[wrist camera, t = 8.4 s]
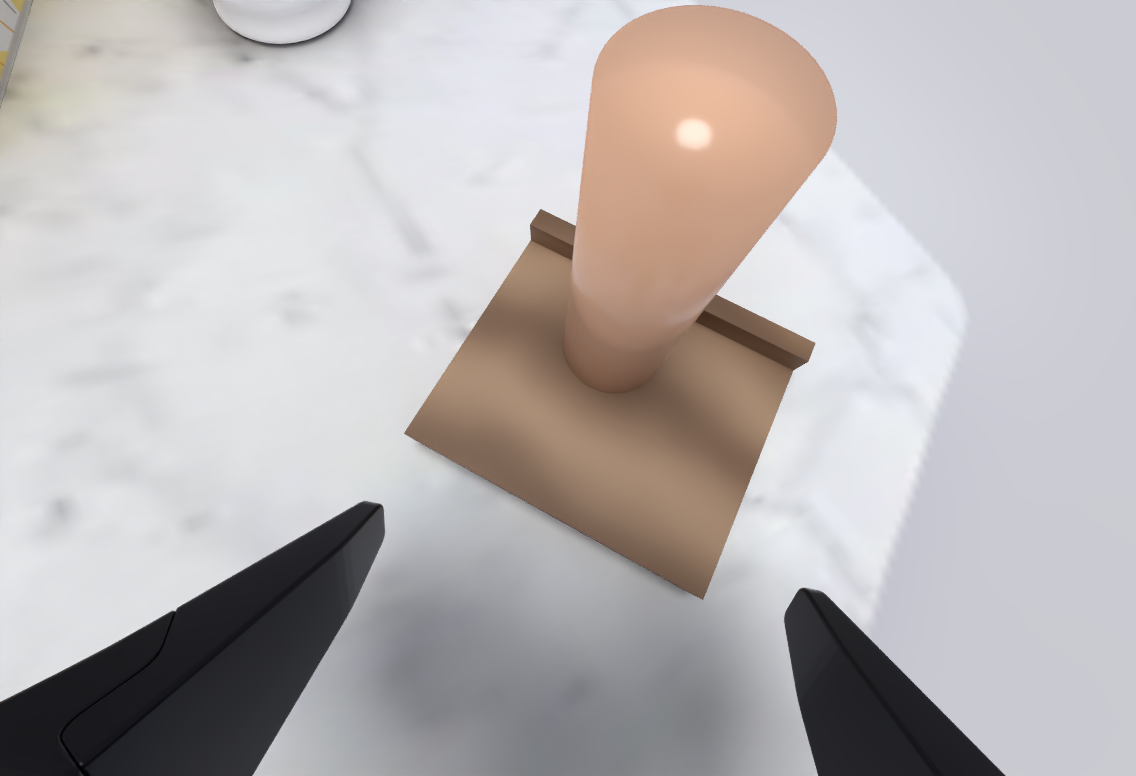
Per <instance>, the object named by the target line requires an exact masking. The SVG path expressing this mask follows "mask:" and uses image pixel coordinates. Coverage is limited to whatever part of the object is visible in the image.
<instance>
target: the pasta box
mask: <svg viewBox="0 0 1136 776" xmlns="http://www.w3.org/2000/svg"><path fill="white" fill-rule="evenodd" d="M32 1H33V0H0V107H1V104H2V100H3V97H4V94H5V90H6V87H7V84H8V80H9V77H10V74H11V71H12V67H13V64H14V61H15V57H16V54H17V51H18V48H19V44H20V41H21V38H22V34H23V31H24V28H25V24H26V21H27V18H28V15H29V11H30V8H31V5H32Z"/></svg>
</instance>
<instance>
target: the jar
mask: <svg viewBox="0 0 1136 776" xmlns="http://www.w3.org/2000/svg"><path fill="white" fill-rule="evenodd" d="M350 2H351V0H213V3H214V6H215V8H216V11H217V13H218V14H219V16H220V17H221V19H222V20H223V21H224V22H225V23H226V24H227V25H228V26H229V27H230V28H231V29H232V30H234V31H235V32H237V33H239V34H240V35H242V36H244V37H247V38H249V39H252V40H255V41H260V42H265V43H275V44H286V43H295V42H300V41H304V40H308V39H311V38H313V37H316V36H318V35H320V34H322V33H324V32H326V31H327V30H329V29H330V28H332V27H333V26H334V25H335V24H336V23H338V22H339V21H340V20H341V18H342V17H343V16H344V14H345V13H346V11H347V10H348V7H349V5H350Z"/></svg>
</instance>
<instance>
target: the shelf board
mask: <svg viewBox="0 0 1136 776" xmlns="http://www.w3.org/2000/svg"><path fill="white" fill-rule="evenodd" d="M530 230H531V241H530V243H529V244H528V246H527V247H526V249H525V250H524V252H523V253H522V255H521V256H520V258H519V259H518V261H517V262H516V264H515V265H514V267H513V268H512V270H511V271H510V273H509V274H508V276H507V278H506V279H505V281H504V282H503V284H502V285H501V287H500V288H499V290H498V291H497V293H496V294H495V296H494V297H493V299H492V300H491V302H490V303H489V305H488V306H487V308H486V309H485V311H484V313H483V314H482V316H481V317H480V319H479V320H478V322H477V323H476V325H475V326H474V328H473V329H472V331H471V332H470V334H469V335H468V337H467V338H466V340H465V341H464V343H463V344H462V346H461V347H460V349H459V351H458V352H457V354H456V355H455V357H454V358H453V360H452V361H451V363H450V364H449V366H448V367H447V369H446V370H445V372H444V373H443V375H442V376H441V378H440V379H439V381H438V382H437V384H436V386H435V387H434V389H433V390H432V392H431V393H430V395H429V396H428V398H427V399H426V401H425V402H424V404H423V405H422V407H421V408H420V410H419V411H418V413H417V414H416V416H415V417H414V419H413V421H412V422H411V424H410V425H409V427H408V428H407V430H406V431H405V433H404V434H406V435H407V436H409V437H411V438H413V439H414V440H416V441H418V442H420V443H422V444H423V445H425V446H427V447H429V448H431V449H432V450H434V451H436V452H438V453H440V454H441V455H443V456H445V457H447V458H449V459H450V460H452V461H454V462H456V463H458V464H459V465H461V466H463V467H465V468H467V469H468V470H470V471H472V472H474V473H475V474H477V475H479V476H481V477H483V478H484V479H486V480H488V481H490V482H492V483H493V484H495V485H497V486H499V487H501V488H502V489H504V490H506V491H508V492H510V493H511V494H513V495H515V496H517V497H519V498H520V499H522V500H524V501H526V502H528V503H529V504H531V505H533V506H535V507H537V508H538V509H540V510H542V511H544V512H546V513H547V514H549V515H551V516H553V517H555V518H556V519H558V520H560V521H562V522H564V523H565V524H567V525H569V526H571V527H573V528H574V529H576V530H578V531H580V532H582V533H583V534H585V535H587V536H589V537H591V538H592V539H594V540H596V541H598V542H599V543H601V544H603V545H605V546H607V547H608V548H610V549H612V550H614V551H616V552H617V553H619V554H621V555H623V556H625V557H626V558H628V559H630V560H632V561H634V562H635V563H637V564H639V565H641V566H643V567H644V568H646V569H648V570H650V571H652V572H653V573H655V574H657V575H659V576H661V577H662V578H664V579H666V580H668V581H670V582H671V583H673V584H675V585H677V586H679V587H680V588H682V589H684V590H686V591H688V592H689V593H691V594H693V595H695V596H697V597H699V598H701V599H702V600H703V598H704V596H705V593H706V591H707V588H708V586H709V583H710V581H711V578H712V576H713V573H714V571H715V568H716V565H717V563H718V560H719V558H720V555H721V553H722V550H723V548H724V545H725V543H726V540H727V537H728V535H729V532H730V530H731V527H732V525H733V522H734V520H735V517H736V515H737V512H738V510H739V507H740V504H741V502H742V499H743V497H744V494H745V492H746V489H747V487H748V484H749V482H750V479H751V476H752V474H753V471H754V469H755V466H756V464H757V461H758V459H759V456H760V454H761V451H762V449H763V446H764V443H765V441H766V438H767V436H768V433H769V431H770V428H771V426H772V423H773V421H774V418H775V415H776V413H777V410H778V408H779V405H780V403H781V400H782V398H783V395H784V393H785V390H786V388H787V385H788V382H789V380H790V377H791V375H792V372H793V370H795V369H796V368H798V367H800V366H802V365H803V364H805V363H807V362H808V361H809V359H810V356H811V354H812V351H813V348H814V346H815V343H814V342H812V341H810V340H808V339H806V338H804V337H802V336H800V335H798V334H796V333H794V332H792V331H790V330H788V329H786V328H783V327H781V326H779V325H777V324H775V323H773V322H771V321H769V320H767V319H765V318H763V317H761V316H759V315H757V314H755V313H753V312H751V311H749V310H747V309H745V308H742V307H740V306H738V305H736V304H734V303H732V302H730V301H728V300H726V299H724V298H722V297H720V296H718V295H715V297H714V298H713V299H712V300H711V302H710V303H709V304H708V306H707V307H706V308H705V309H704V311H703V312H702V313H701V314H700V316H699V317H698V318H697V320H696V321H695V322H694V323H693V325H692V326H691V327H690V328H689V330H688V331H687V332H686V334H685V335H684V336H683V337H682V339H681V340H680V341H679V343H678V344H677V345H676V346H675V348H674V349H673V350H672V351H671V353H670V354H669V355H668V357H667V358H666V359H665V360H664V362H663V363H662V364H661V365H660V367H659V368H658V369H657V371H656V372H655V373H654V374H653V376H652V377H651V378H650V379H649V380H648V381H647V382H646V383H644V384H643V385H642V386H640V387H638V388H636V389H634V390H631V391H628V392H623V393H607V392H602V391H599V390H596V389H593V388H591V387H589V386H588V385H586V384H584V383H583V382H582V381H581V380H579V379H578V378H577V377H576V376H575V375H574V373H573V372H572V371H571V369H570V367H569V366H568V364H567V361H566V359H565V355H564V349H563V339H564V330H565V321H566V312H567V303H568V294H569V285H570V276H571V267H572V258H573V249H574V240H575V231H576V226H574V225H572V224H570V223H568V222H566V221H564V220H562V219H560V218H558V217H556V216H554V215H552V214H550V213H548V212H546V211H544V210H542V209H540V211H539V212H538V214H537V215H536V217H535V218H534V220H533V221H532V223H531V224H530Z"/></svg>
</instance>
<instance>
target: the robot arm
mask: <svg viewBox="0 0 1136 776" xmlns="http://www.w3.org/2000/svg"><path fill="white" fill-rule="evenodd" d="M384 536H385V523H384V509H383V506H382V505H381V504H378V503H373V502H368V501H363V502H360V503H358V504H357V505H355V506H353V507H351V508H350V509H348V510H346V511H344V512H343V513H341V514H339V515H337V516H336V517H334V518H332V519H331V520H329V521H327V522H325V523H324V524H322V525H320V526H318V527H317V528H315V529H313V530H311V531H310V532H308V533H306V534H305V535H303V536H301V537H299V538H298V539H296V540H294V541H292V542H291V543H289V544H287V545H285V546H284V547H282V548H280V549H279V550H277V551H275V552H273V553H272V554H270V555H268V556H266V557H265V558H263V559H261V560H259V561H258V562H256V563H254V564H252V565H251V566H249V567H247V568H246V569H244V570H242V571H240V572H239V573H237V574H235V575H233V576H232V577H230V578H228V579H226V580H225V581H223V582H221V583H220V584H218V585H216V586H214V587H213V588H211V589H209V590H207V591H206V592H204V593H202V594H200V595H199V596H197V597H195V598H194V599H192V600H190V601H188V602H187V603H185V604H183V605H181V606H180V607H178V608H177V610H176V612H175V611H171V612H169V613H167V614H165V615H164V616H162V617H160V618H159V619H157V620H155V621H153V622H152V623H150V624H148V625H146V626H145V627H143V628H141V629H139V630H137V631H136V632H134V633H132V634H130V635H128V636H127V637H125V638H123V639H121V640H119V641H118V642H116V643H114V644H112V645H110V646H109V647H107V648H105V649H103V650H101V651H99V652H97V653H95V654H93V655H92V656H90V657H88V658H86V659H84V660H82V661H80V662H78V663H76V664H74V665H72V666H70V667H68V668H67V669H65V670H63V671H61V672H59V673H57V674H55V675H53V676H51V677H49V678H47V679H45V680H43V681H41V682H39V683H37V684H35V685H33V686H31V687H29V688H27V689H25V690H23V691H21V692H19V693H17V694H15V695H13V696H11V697H9V698H7V699H5V700H3V701H1V702H0V776H252V775H253V774H254V772H255V770H256V769H257V767H258V765H259V764H260V762H261V760H262V759H263V757H264V755H265V754H266V752H267V750H268V749H269V747H270V745H271V744H272V742H273V740H274V738H275V737H276V735H277V733H278V732H279V730H280V728H281V727H282V725H283V723H284V722H285V720H286V718H287V717H288V715H289V713H290V712H291V710H292V708H293V707H294V705H295V703H296V702H297V700H298V698H299V697H300V695H301V693H302V692H303V690H304V688H305V687H306V685H307V683H308V681H309V680H310V678H311V676H312V675H313V673H314V671H315V670H316V668H317V666H318V665H319V663H320V661H321V660H322V658H323V656H324V655H325V653H326V651H327V650H328V648H329V646H330V645H331V643H332V641H333V640H334V638H335V636H336V635H337V633H338V631H339V630H340V628H341V626H342V624H343V623H344V621H345V619H346V618H347V616H348V614H349V612H350V610H351V608H352V606H353V604H354V602H355V600H356V598H357V596H358V594H359V592H360V590H361V587H362V585H363V583H364V581H365V579H366V577H367V575H368V572H369V570H370V568H371V566H372V564H373V562H374V560H375V557H376V555H377V553H378V551H379V549H380V547H381V545H382V542H383V539H384ZM784 623H785V629H786V635H787V641H788V647H789V653H790V658H791V664H792V670H793V676H794V681H795V687H796V692H797V697H798V702H799V706H800V710H801V714H802V718H803V722H804V725H805V729H806V733H807V736H808V740H809V744H810V747H811V751H812V755H813V758H814V762H815V766H816V769H817V773H818V776H1005V775H1004V774H1003V773H1002V772H1001V771H1000V770H999V769H998V768H997V767H996V766H995V765H994V764H993V763H992V762H991V761H990V760H989V759H988V758H987V757H986V756H985V755H984V754H983V753H982V752H981V751H980V750H979V749H978V748H977V746H976V745H974V744H973V742H972V741H970V739H968V737H966V735H964V733H963V732H962V731H960V729H959V728H958V727H957V726H956V725H955V724H954V723H953V722H952V721H951V720H950V719H949V718H948V717H947V716H946V715H945V714H944V713H943V712H942V711H941V710H940V709H939V708H938V707H937V706H936V705H935V704H934V703H933V702H932V701H931V700H930V699H929V698H928V697H927V696H926V695H925V694H924V693H923V692H922V691H921V690H920V689H919V688H918V687H917V686H916V685H915V684H914V683H913V682H912V681H911V680H910V679H909V678H908V677H907V676H906V675H905V674H904V673H903V672H902V671H901V670H900V669H899V668H898V667H897V666H896V665H895V664H894V663H893V662H892V661H891V660H890V659H889V658H888V657H887V656H886V655H885V654H884V653H883V652H882V651H881V650H880V649H879V648H878V647H877V646H876V645H875V644H874V643H873V642H872V641H871V640H870V639H869V638H868V637H867V636H866V635H865V634H864V633H863V632H862V631H861V630H860V628H859V627H858V626H857V625H856V624H855V623H854V622H853V621H852V620H851V619H850V618H849V617H848V616H847V615H846V614H845V613H844V612H843V611H842V610H841V609H840V608H839V607H838V606H837V605H836V604H835V603H834V602H833V601H832V600H831V599H830V598H829V597H828V596H827V595H826V594H825V593H823V592H821V591H819V590H814V589H809V588H801V589H799V590H798V592H797V593H796V595H795V597H794V598H793V600H792V602H791V603H790V605H789V607H788V608H787V610H786V612H785V617H784Z"/></svg>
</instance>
